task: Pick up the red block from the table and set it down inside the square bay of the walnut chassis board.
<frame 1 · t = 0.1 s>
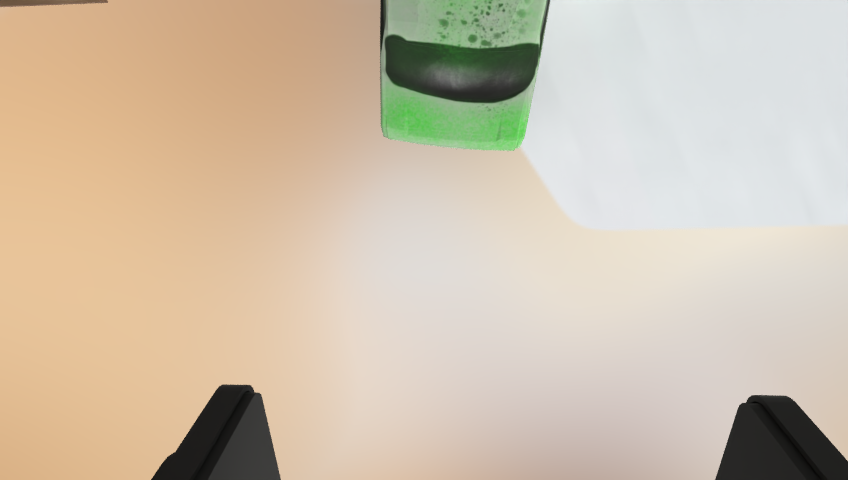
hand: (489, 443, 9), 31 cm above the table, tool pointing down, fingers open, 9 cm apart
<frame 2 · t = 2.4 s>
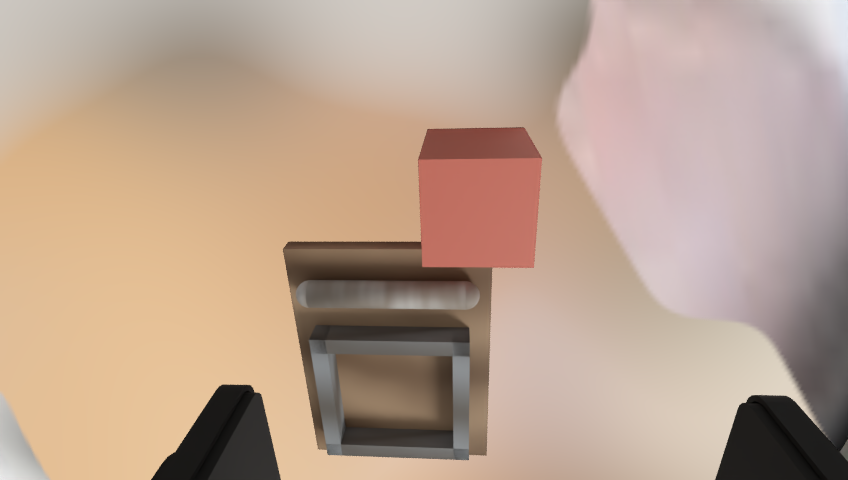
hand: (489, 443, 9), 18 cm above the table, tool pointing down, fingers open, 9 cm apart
red block: (474, 174, 26), on the table
chassis board: (396, 352, 31), on the table
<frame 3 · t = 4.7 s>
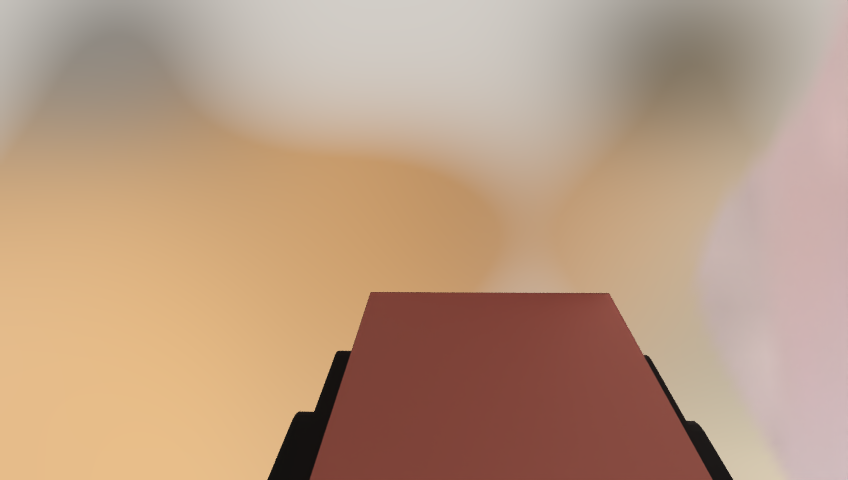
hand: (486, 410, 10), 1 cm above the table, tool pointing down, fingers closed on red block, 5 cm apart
red block: (485, 385, 11), on the table, touching gripper
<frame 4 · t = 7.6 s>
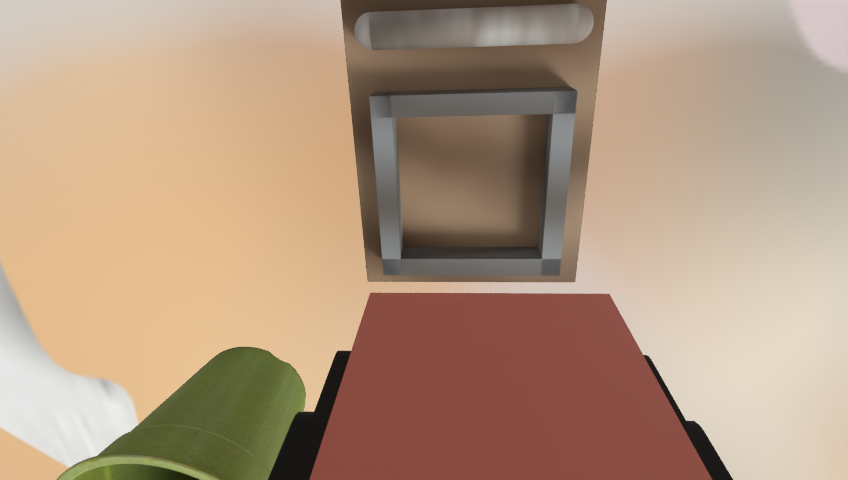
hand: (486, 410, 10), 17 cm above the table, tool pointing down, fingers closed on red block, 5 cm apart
plant pot: (255, 383, 33), on the table
red block: (485, 385, 11), point 16 cm above the table, touching gripper
chassis board: (470, 140, 25), on the table
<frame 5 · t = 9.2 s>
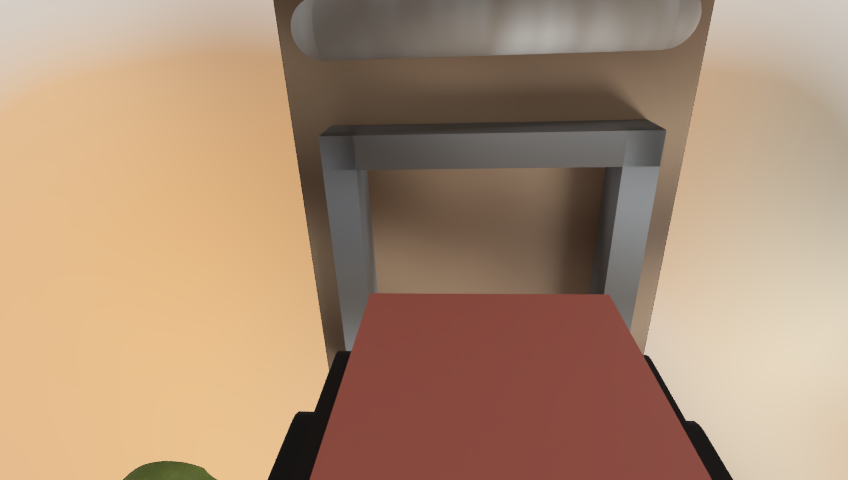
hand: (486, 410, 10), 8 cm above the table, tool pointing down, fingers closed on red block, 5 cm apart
red block: (485, 386, 11), point 7 cm above the table, touching gripper
chassis board: (482, 196, 16), on the table
when the fingers open (3 cm above the table, at t = 10.5 s): red block drops 1 cm, resting on chassis board.
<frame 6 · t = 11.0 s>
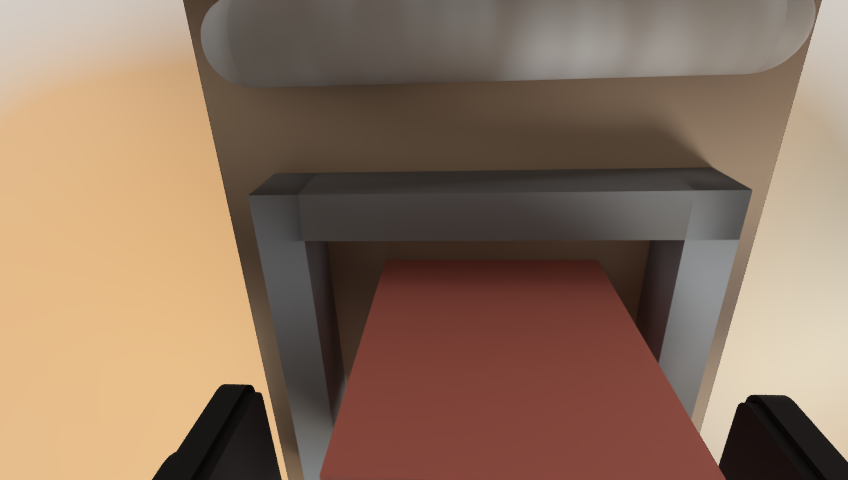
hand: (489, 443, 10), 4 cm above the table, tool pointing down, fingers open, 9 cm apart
red block: (487, 345, 12), point 1 cm above the table, touching chassis board
chassis board: (481, 261, 12), on the table
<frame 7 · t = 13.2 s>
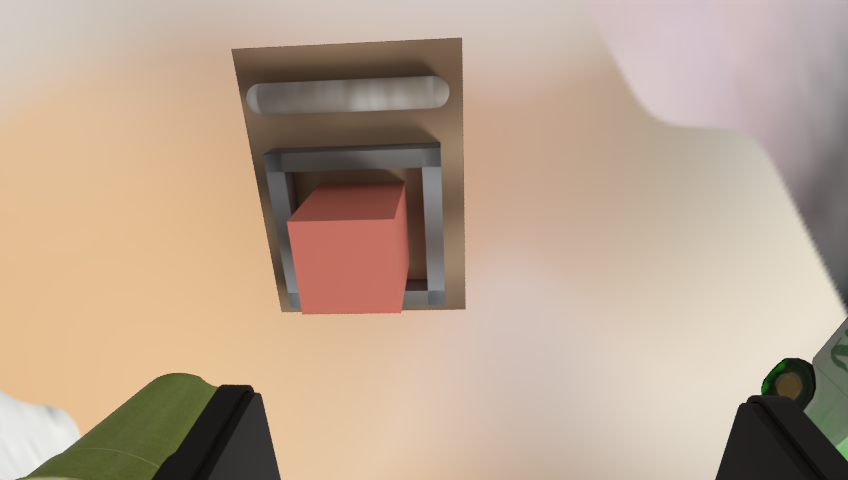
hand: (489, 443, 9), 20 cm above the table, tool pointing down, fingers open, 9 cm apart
plant pot: (190, 406, 36), on the table
red block: (365, 223, 28), point 1 cm above the table, touching chassis board
chassis board: (363, 187, 28), on the table
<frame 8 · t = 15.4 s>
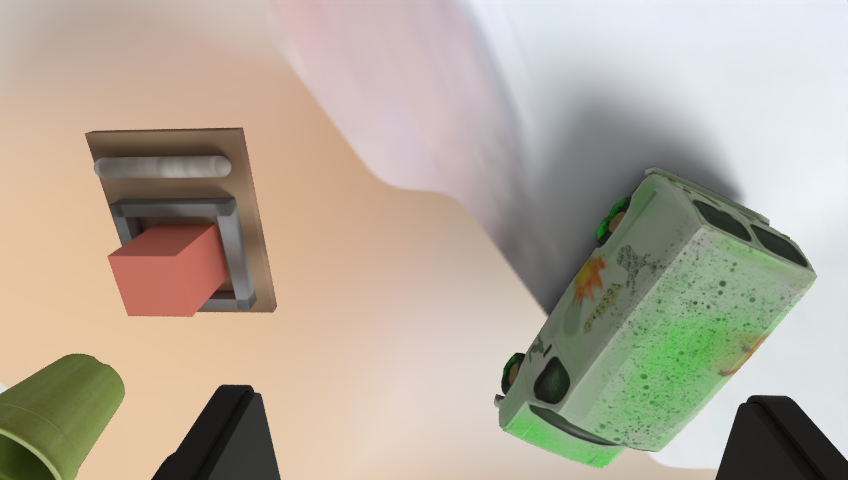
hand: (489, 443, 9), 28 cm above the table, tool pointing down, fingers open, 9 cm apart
toy car: (608, 306, 41), on the table
plant pot: (91, 378, 48), on the table
red block: (193, 250, 40), point 1 cm above the table, touching chassis board
chassis board: (192, 224, 40), on the table
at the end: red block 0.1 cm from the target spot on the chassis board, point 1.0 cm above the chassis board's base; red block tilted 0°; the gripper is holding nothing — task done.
